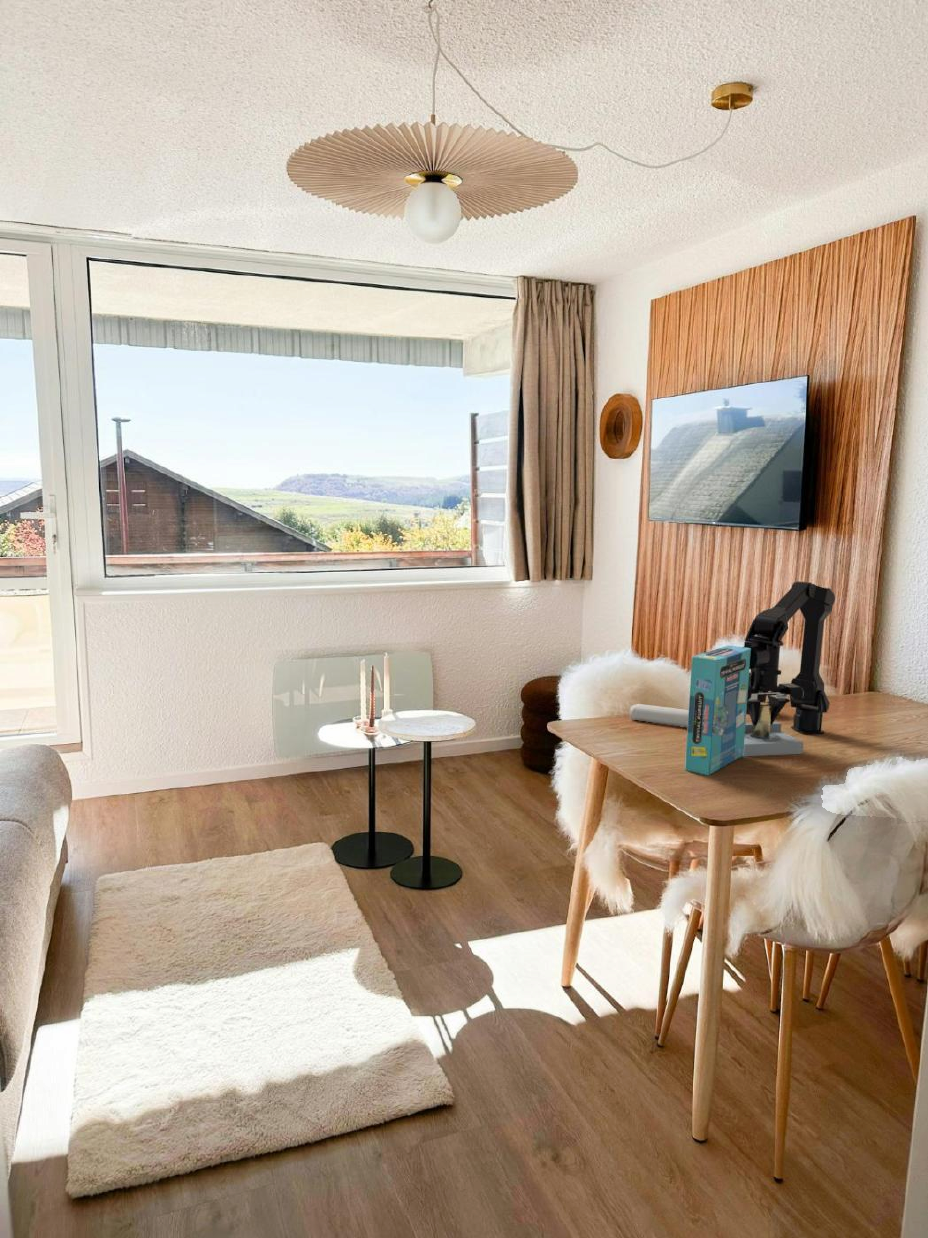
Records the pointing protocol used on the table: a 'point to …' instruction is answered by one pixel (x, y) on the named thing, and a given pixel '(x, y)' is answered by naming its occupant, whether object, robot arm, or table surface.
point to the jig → (770, 742)
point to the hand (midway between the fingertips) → (762, 725)
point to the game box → (717, 708)
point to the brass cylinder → (763, 721)
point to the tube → (659, 715)
